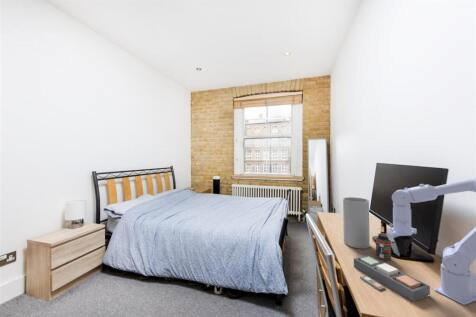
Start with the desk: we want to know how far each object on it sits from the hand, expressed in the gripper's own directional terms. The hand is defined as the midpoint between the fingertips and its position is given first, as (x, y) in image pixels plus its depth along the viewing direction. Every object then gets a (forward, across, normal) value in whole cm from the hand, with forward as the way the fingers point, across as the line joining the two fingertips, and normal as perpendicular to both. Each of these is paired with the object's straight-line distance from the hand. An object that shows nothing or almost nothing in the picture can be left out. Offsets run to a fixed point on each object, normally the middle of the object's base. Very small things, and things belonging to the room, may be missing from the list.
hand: (402, 253), depth 81 cm
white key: (+8, +7, -2) cm, 11 cm away
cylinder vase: (+10, -10, -30) cm, 33 cm away
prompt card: (+10, +15, -2) cm, 18 cm away
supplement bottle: (+10, -9, -14) cm, 19 cm away
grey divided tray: (+10, +7, -2) cm, 12 cm away
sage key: (+9, +7, -9) cm, 14 cm away
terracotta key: (+9, +7, +6) cm, 13 cm away
